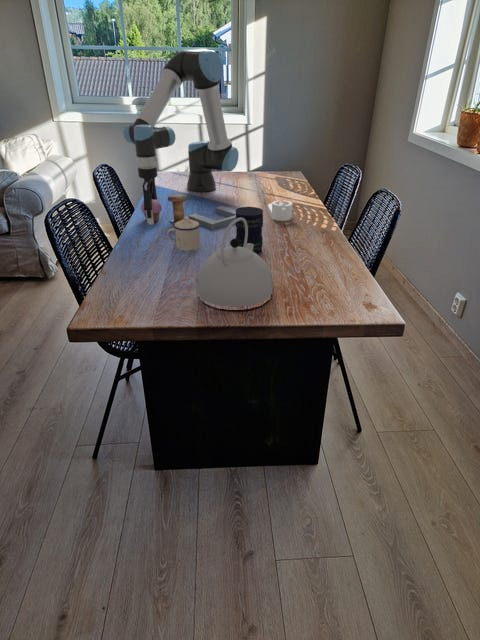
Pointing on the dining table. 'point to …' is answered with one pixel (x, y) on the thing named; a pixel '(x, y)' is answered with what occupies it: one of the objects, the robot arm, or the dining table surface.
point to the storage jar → (250, 227)
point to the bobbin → (177, 206)
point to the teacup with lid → (186, 234)
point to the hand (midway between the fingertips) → (152, 221)
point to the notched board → (212, 223)
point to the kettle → (235, 275)
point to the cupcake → (155, 207)
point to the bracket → (280, 210)
